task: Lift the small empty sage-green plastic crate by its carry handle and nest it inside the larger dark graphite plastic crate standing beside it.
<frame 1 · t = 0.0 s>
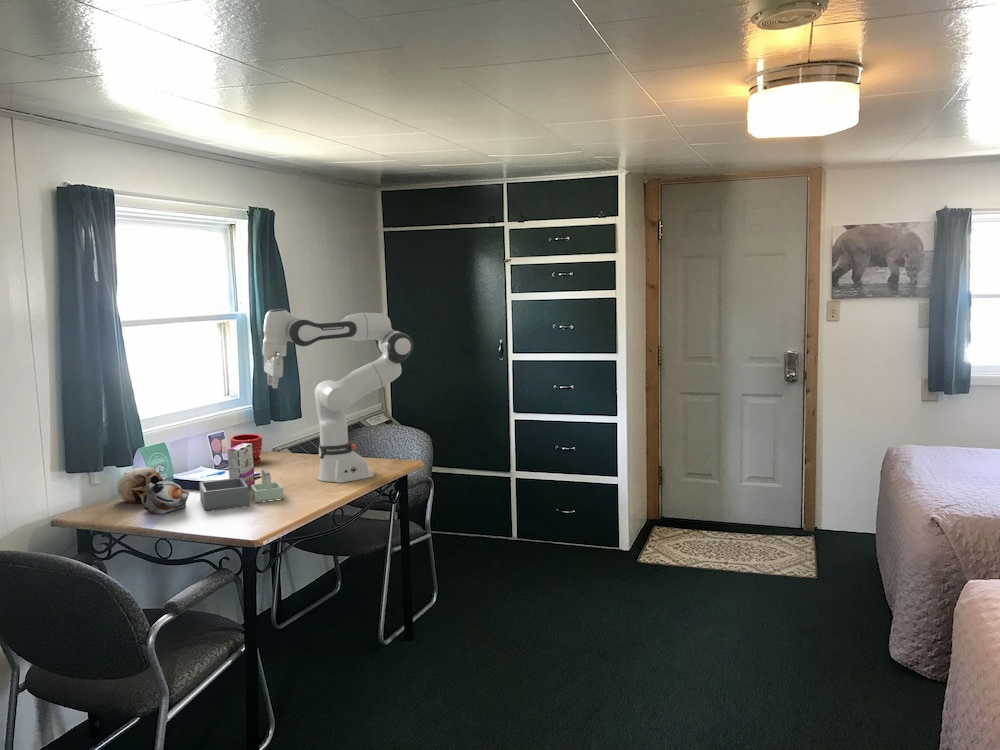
hand: (272, 386, 318), 39 cm above the table, tool pointing down, fingers open, 8 cm apart
candy bar box: (242, 488, 319), on the table
small crate: (267, 498, 304), on the table
plant pot: (247, 464, 359), on the table
large crate: (224, 503, 297), on the table
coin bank: (147, 501, 303), on the table
lucky cat figurine: (168, 511, 289), on the table
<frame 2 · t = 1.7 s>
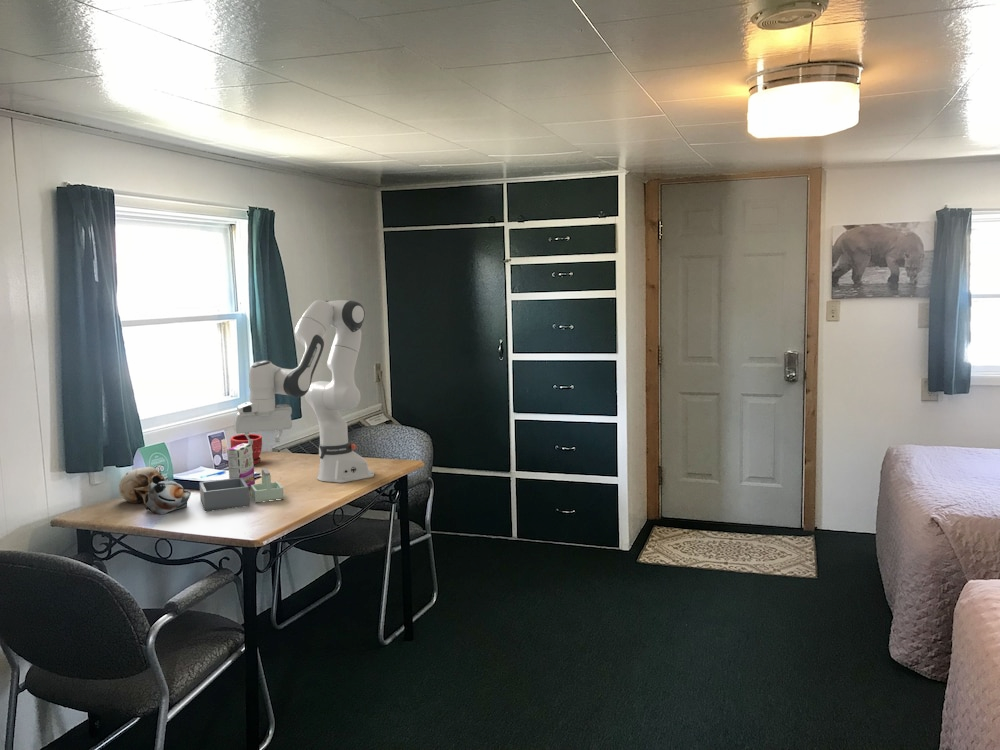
hand: (264, 443, 301), 21 cm above the table, tool pointing down, fingers open, 8 cm apart
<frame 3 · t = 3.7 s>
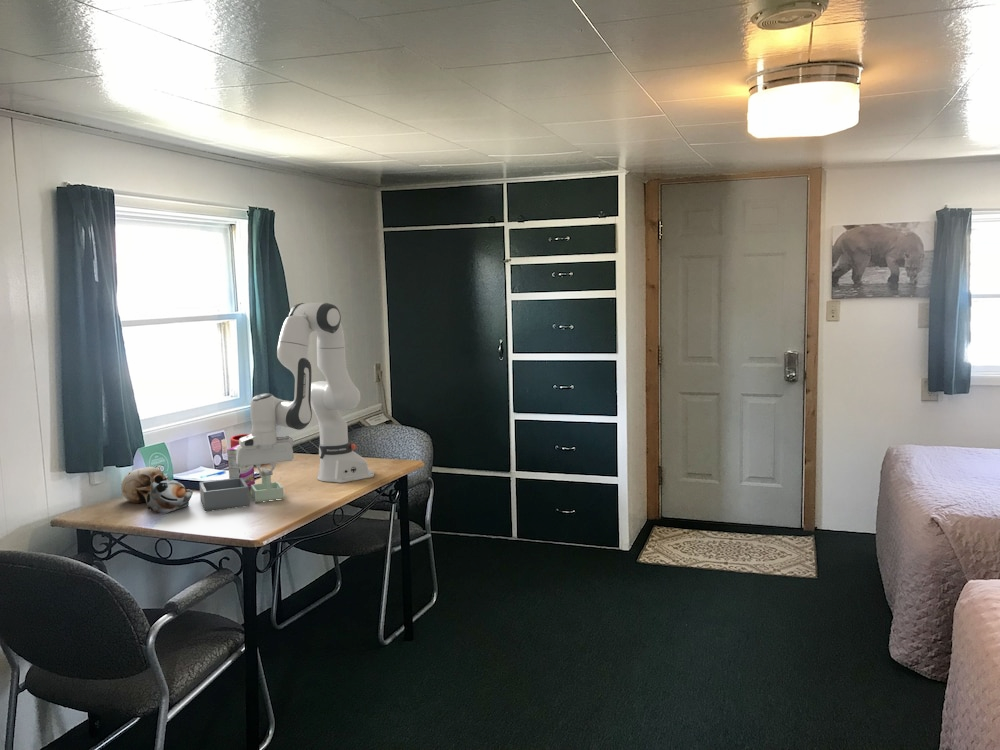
hand: (266, 475, 303), 9 cm above the table, tool pointing down, fingers closed on small crate
small crate: (267, 498, 304), on the table, touching gripper
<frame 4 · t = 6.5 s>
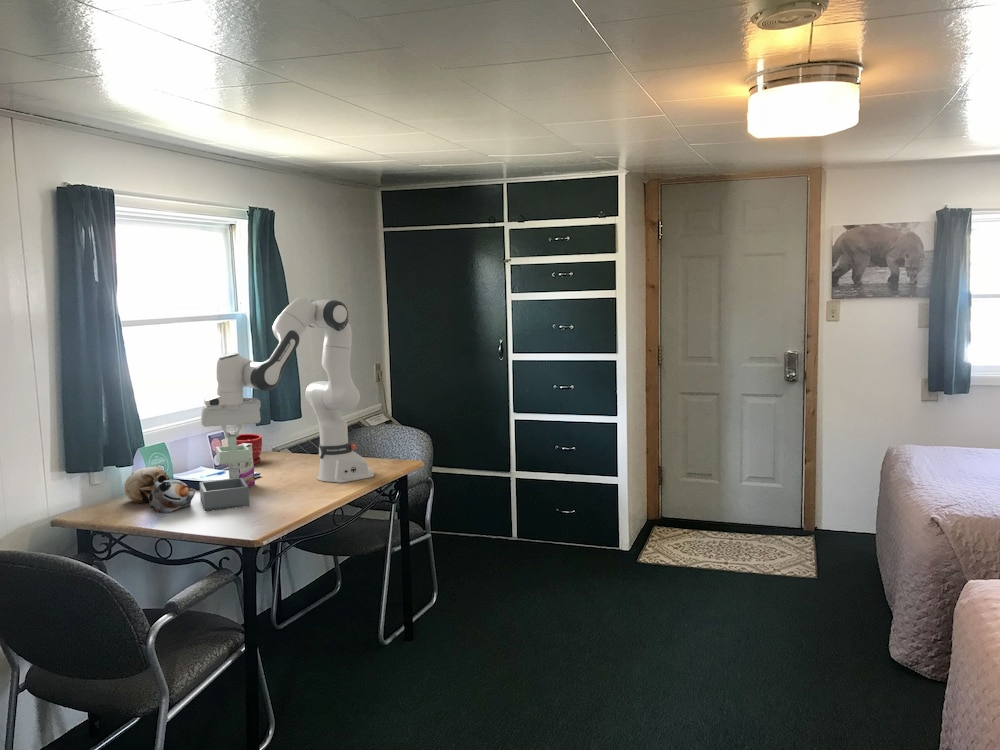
hand: (231, 437, 295), 24 cm above the table, tool pointing down, fingers closed on small crate
small crate: (232, 460, 296), point 16 cm above the table, touching gripper
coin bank: (155, 500, 303), on the table
lucky cat figurine: (173, 509, 291), on the table
everything else where it was.
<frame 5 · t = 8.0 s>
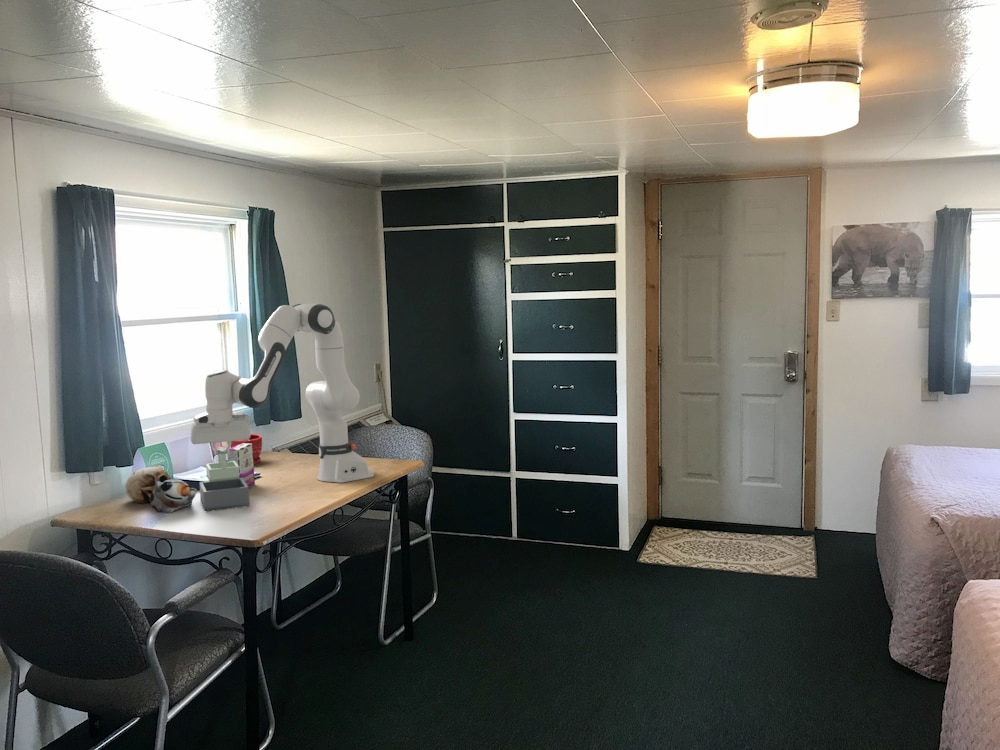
hand: (221, 454, 295), 18 cm above the table, tool pointing down, fingers closed on small crate
small crate: (223, 477, 296), point 10 cm above the table, touching gripper
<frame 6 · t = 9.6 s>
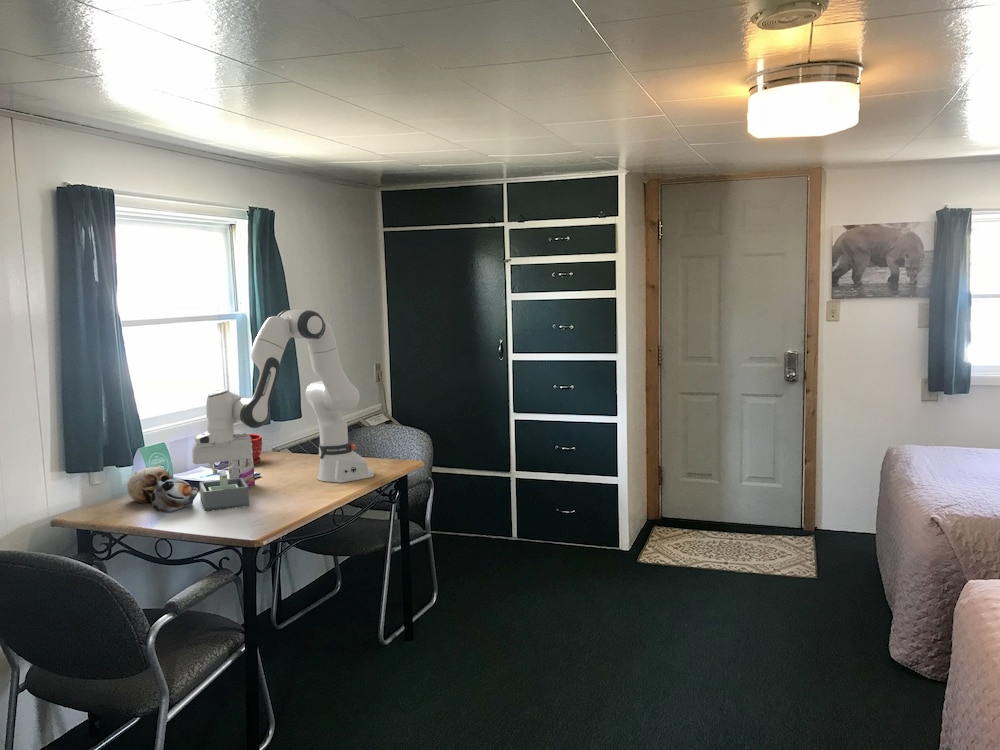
hand: (223, 473, 296), 11 cm above the table, tool pointing down, fingers open, 4 cm apart
small crate: (224, 500, 297), point 1 cm above the table, touching large crate
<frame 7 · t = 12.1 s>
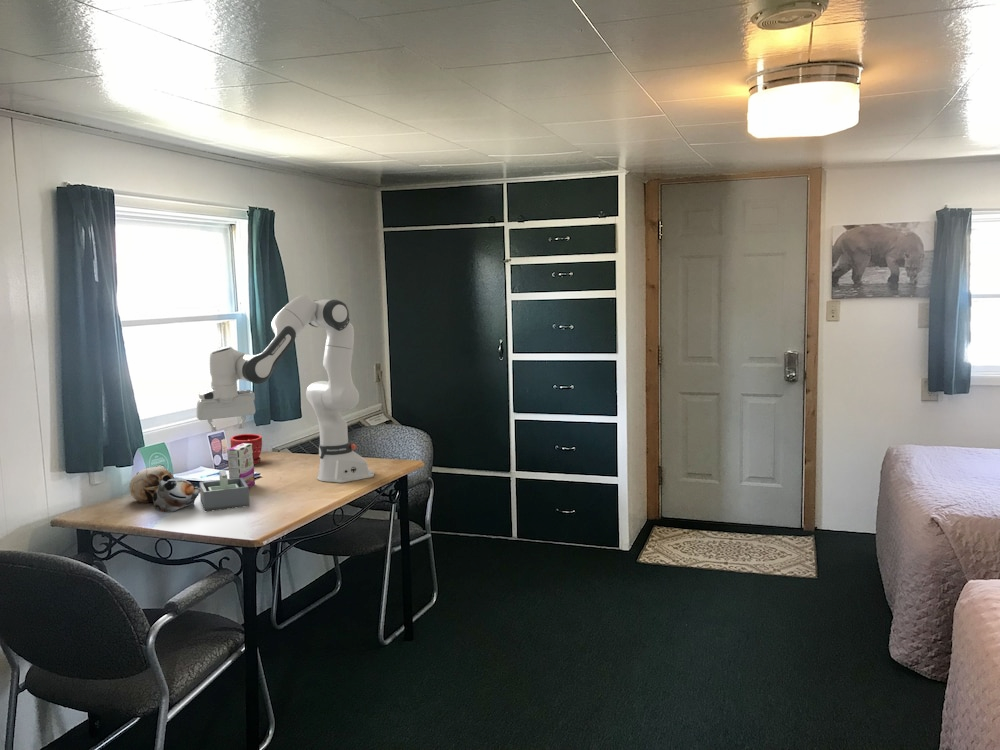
hand: (227, 429, 299), 26 cm above the table, tool pointing down, fingers open, 8 cm apart
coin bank: (160, 500, 303), on the table, touching lucky cat figurine
lucky cat figurine: (178, 508, 293), on the table, touching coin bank
everything else where it was.
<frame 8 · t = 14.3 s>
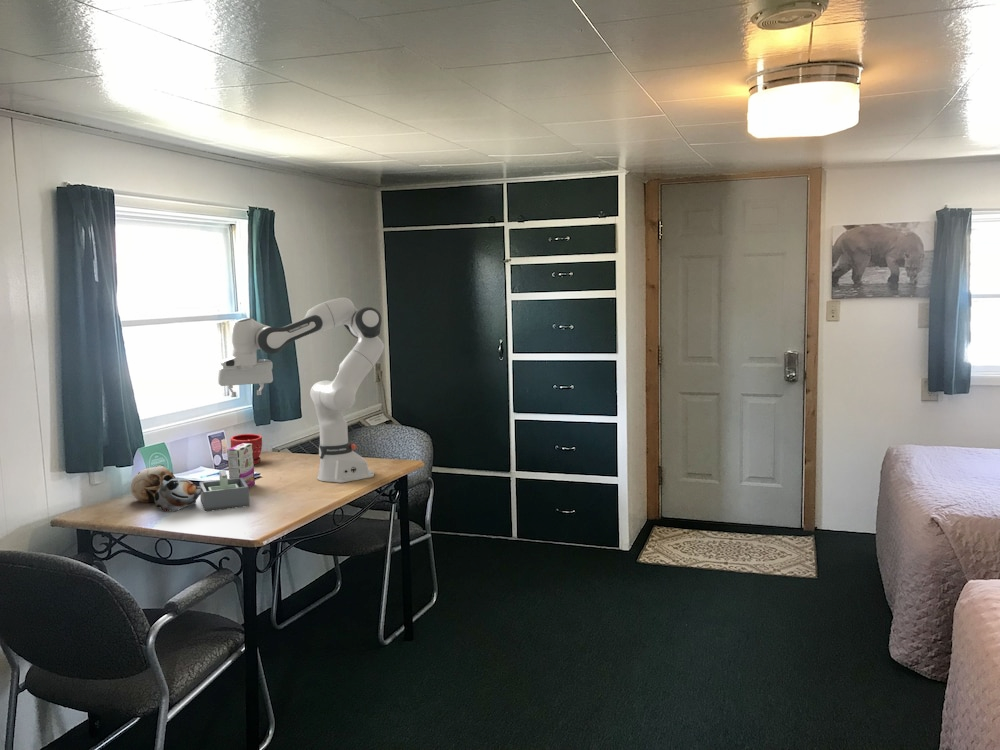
hand: (246, 395, 320), 35 cm above the table, tool pointing down, fingers open, 8 cm apart
at the end: small crate 0.1 cm off-centre on the large crate, point 1.0 cm above the large crate's base; small crate tilted 0°; the gripper is holding nothing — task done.
